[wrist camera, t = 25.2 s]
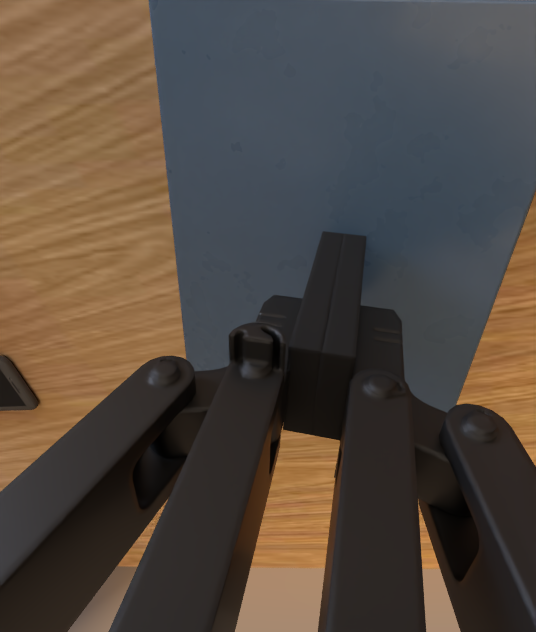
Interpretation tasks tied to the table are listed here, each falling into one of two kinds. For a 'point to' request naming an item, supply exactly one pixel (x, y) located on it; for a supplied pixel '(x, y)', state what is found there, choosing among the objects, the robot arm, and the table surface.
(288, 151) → the chest lid
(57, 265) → the table surface
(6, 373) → the cell phone
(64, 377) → the table surface
